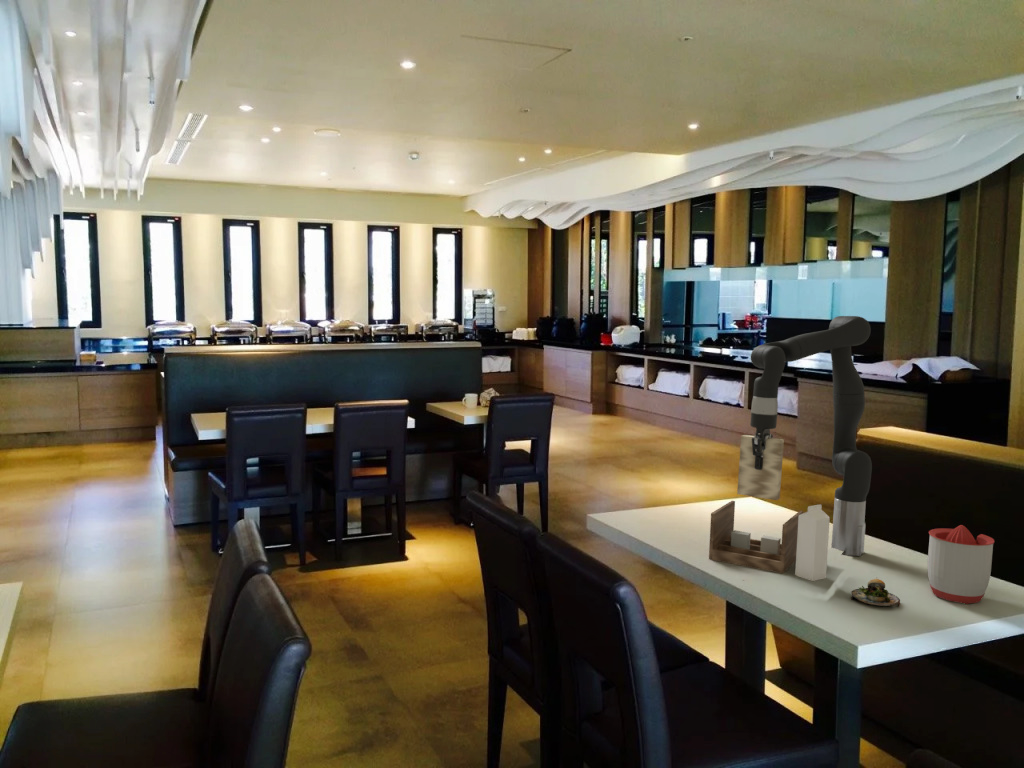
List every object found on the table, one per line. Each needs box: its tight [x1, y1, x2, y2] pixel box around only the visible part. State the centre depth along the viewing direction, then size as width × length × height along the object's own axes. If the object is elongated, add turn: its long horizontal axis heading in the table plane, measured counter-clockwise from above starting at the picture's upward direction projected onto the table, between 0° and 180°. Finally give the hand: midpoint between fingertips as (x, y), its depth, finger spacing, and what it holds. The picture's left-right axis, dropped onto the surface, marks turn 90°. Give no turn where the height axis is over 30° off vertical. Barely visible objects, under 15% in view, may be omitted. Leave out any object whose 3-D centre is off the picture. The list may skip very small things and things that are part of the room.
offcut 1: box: [731, 529, 751, 550], centre depth 249 cm, size 5×3×7 cm, turn 57°
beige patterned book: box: [736, 434, 785, 501], centre depth 246 cm, size 12×3×18 cm, turn 57°
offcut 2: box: [760, 534, 782, 555], centre depth 244 cm, size 5×3×7 cm, turn 57°
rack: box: [708, 500, 804, 574], centre depth 247 cm, size 22×20×16 cm
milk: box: [794, 504, 831, 582], centre depth 230 cm, size 6×6×22 cm
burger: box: [850, 578, 901, 608], centre depth 216 cm, size 12×12×8 cm
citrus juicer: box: [927, 524, 995, 605], centre depth 221 cm, size 16×17×20 cm
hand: (760, 468), depth 246 cm, fingers closed on beige patterned book, 3 cm apart
